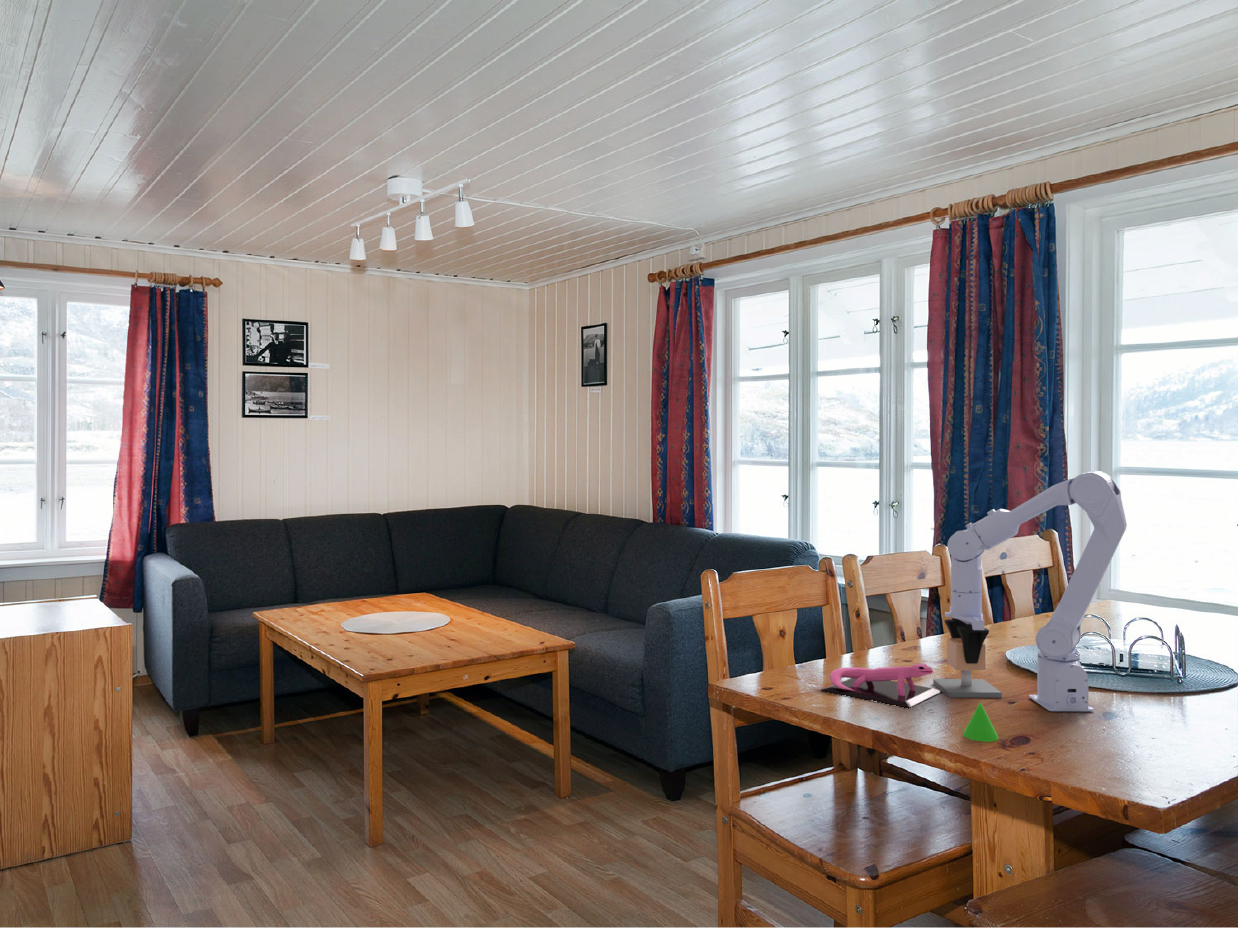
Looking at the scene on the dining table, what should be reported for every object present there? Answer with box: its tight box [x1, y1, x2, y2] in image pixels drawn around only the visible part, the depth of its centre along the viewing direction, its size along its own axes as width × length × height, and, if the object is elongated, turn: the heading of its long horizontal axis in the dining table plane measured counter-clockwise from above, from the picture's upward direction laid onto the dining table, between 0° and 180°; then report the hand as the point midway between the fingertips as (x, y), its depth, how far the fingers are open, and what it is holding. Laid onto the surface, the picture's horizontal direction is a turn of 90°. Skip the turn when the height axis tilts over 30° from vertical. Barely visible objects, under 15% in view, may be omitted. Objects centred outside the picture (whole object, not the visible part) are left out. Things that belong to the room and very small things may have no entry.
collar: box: [946, 637, 986, 671], centre depth 178 cm, size 6×6×5 cm
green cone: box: [962, 701, 999, 743], centre depth 151 cm, size 6×6×6 cm
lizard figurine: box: [820, 662, 943, 710], centre depth 178 cm, size 15×20×7 cm
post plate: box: [932, 670, 1003, 699], centre depth 178 cm, size 10×10×5 cm
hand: (966, 659), depth 178 cm, fingers closed on collar, 6 cm apart
